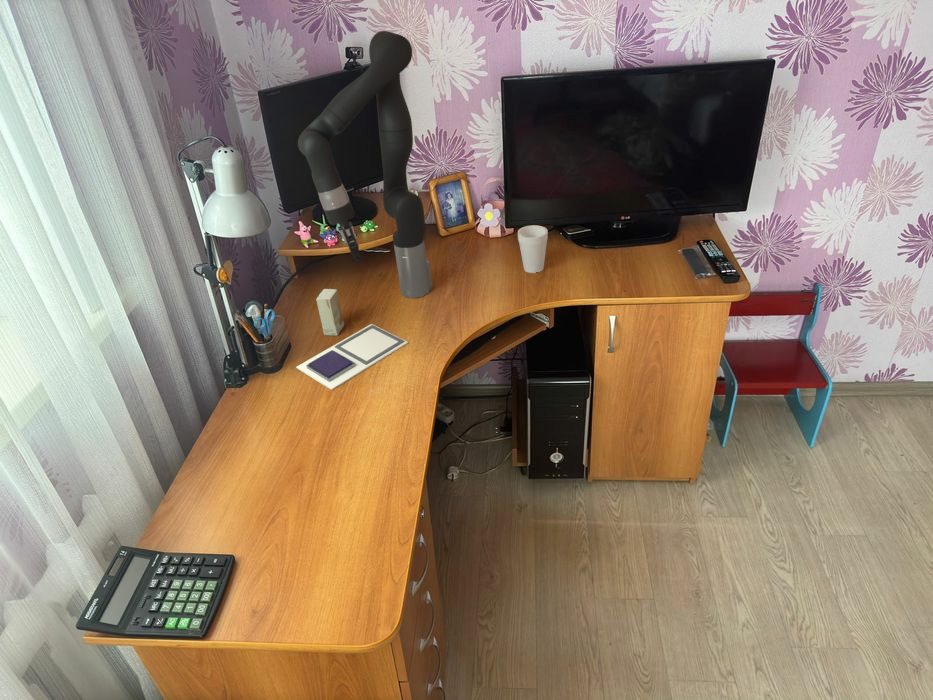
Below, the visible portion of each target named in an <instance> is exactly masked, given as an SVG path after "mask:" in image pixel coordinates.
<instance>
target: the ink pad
mask: <svg viewBox="0 0 933 700" xmlns="http://www.w3.org/2000/svg"><path fill="white" fill-rule="evenodd" d="M306 366H307V369H309V370H311V371H312V372H314V373H315V374H317V375H319V376H320V377H322V378H323V379H325V380H327V381H328V382H330V381H332V380H333V379H335V378H337V377H338V376H340V375H342V374H343V373H345V372H347V371H348V370H350V369H351V368H353V367H355V366H356V365H355V363H354V362H353V361H351V360H349V359H347V358H346V357H344V356H342V355H340V354H339V353H337V352H335V351H333V350H331V351H330V352H328V353H326V354H324V355H323V356H321V357H319V358H317V359H316V360H314V361H312V362H310V363H309V364H308V365H306Z"/></svg>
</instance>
